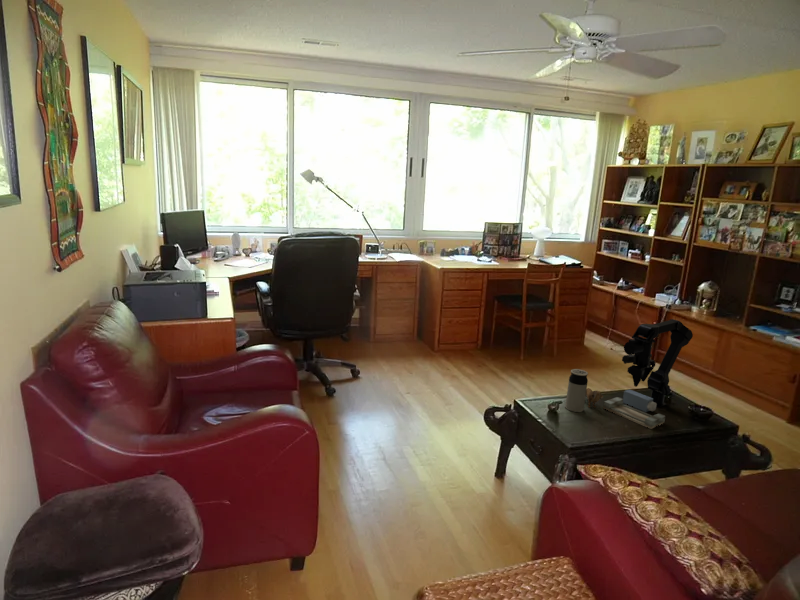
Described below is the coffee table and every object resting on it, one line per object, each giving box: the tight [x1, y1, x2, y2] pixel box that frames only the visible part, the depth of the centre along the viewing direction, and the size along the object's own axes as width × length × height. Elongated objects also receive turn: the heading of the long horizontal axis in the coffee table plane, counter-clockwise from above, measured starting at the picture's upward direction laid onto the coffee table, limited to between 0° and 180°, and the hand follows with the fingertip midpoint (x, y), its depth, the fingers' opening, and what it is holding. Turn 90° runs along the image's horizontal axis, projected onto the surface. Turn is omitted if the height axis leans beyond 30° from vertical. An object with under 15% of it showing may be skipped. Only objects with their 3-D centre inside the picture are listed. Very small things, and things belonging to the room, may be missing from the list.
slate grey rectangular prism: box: [622, 389, 658, 413], centre depth 238 cm, size 4×14×6 cm, turn 34°
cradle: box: [602, 396, 666, 430], centre depth 228 cm, size 11×23×4 cm, turn 35°
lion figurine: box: [585, 387, 604, 409], centre depth 238 cm, size 15×5×9 cm, turn 8°
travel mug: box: [565, 368, 589, 413], centre depth 230 cm, size 8×8×18 cm
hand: (639, 383), depth 235 cm, fingers open, 9 cm apart
